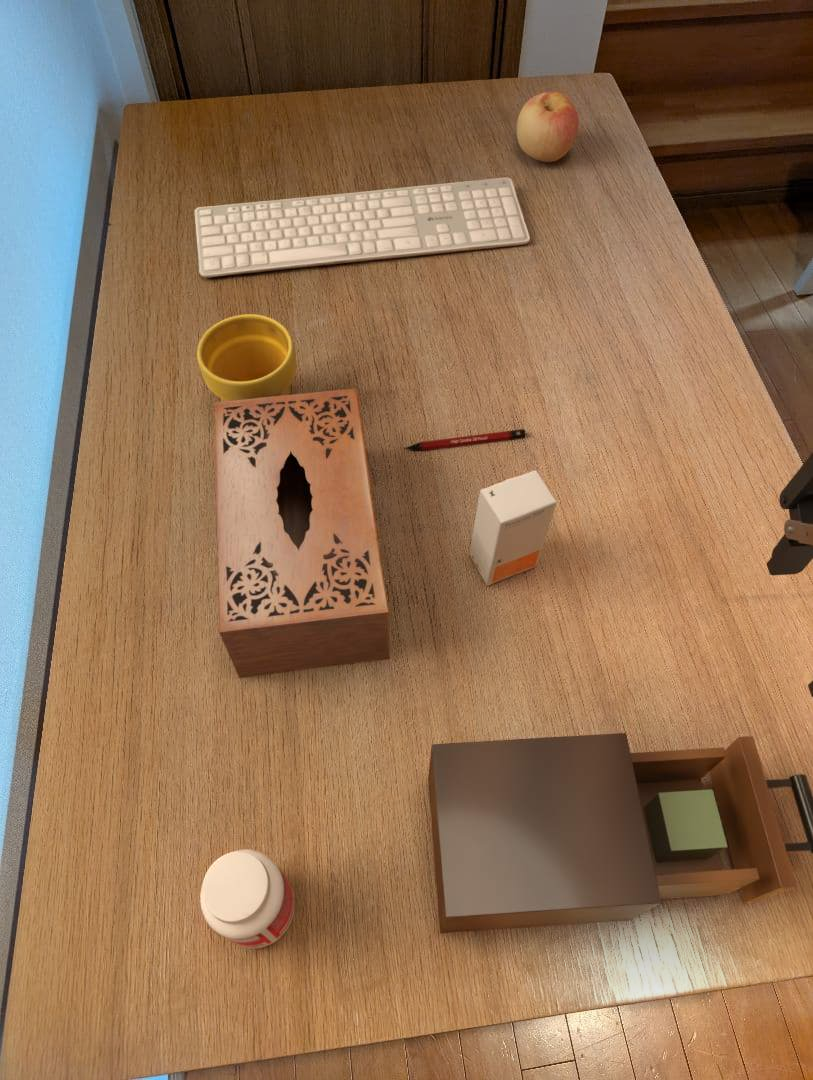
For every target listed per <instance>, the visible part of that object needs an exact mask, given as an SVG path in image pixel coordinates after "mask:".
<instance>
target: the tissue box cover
mask: <svg viewBox="0 0 813 1080" xmlns="http://www.w3.org/2000/svg"><path fill="white" fill-rule="evenodd" d="M362 422H363V421H362V415H361V407H360V399H359V393H358V388H357V387H354V388H346V389H345V388H343V389H334V390H326V391H325V390H324V391H315V392H305V393H295V394H289V395H283V396H273V397H263V398H253V399H243V400H233V401H215V402H214V431H215V432H214V438H215V439H214V440H215V442H214V443H215V446H214V447H215V481H216V482H215V487H216V489H215V490H216V492H215V493H216V495H215V496H216V530H217V531H216V533H217V535H216V537H217V538H216V539H217V540H216V542H217V582H218V584H217V586H218V587H217V588H218V593H217V594H218V626H219V627H218V633H219V635H220V637H221V640H222V642H223V644H224V646H225V649H226V651H227V654H228V655H229V658H230V660H231V663H232V665H233V667H234V669H235V671H236V674H237V676H238V678H246V677H254V676H262V675H263V676H264V675H272V674H279V673H286V672H293V671H302V670H309V669H311V670H312V669H319V668H326V667H335V666H341V665H350V664H358V663H367V662H374V661H383V660H390V659H391V658H390V621H389V620H390V619H389V617H390V616H389V606H388V599H387V593H386V585H385V578H384V571H383V563H382V557H381V550H380V544H379V543H380V541H379V536H378V535H379V534H378V529H377V528H378V527H377V521H376V515H375V508H374V500H373V494H372V486H371V479H370V473H369V472H370V471H369V464H368V458H367V450H366V445H365V444H366V443H365V438H364V430H363V423H362Z"/></svg>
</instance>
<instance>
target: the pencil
mask: <svg viewBox="0 0 813 1080" xmlns="http://www.w3.org/2000/svg"><path fill="white" fill-rule="evenodd" d="M525 438H526V430H525V429H523V428H521V429H513V430H504V431H498V432H497V431H496V432H489V433H482V434H474V435H473V434H472V435H466V436H457V437H450V438H449V437H448V438H441V439H433V440H425V441H419V442H417V443H414V444H412V445H409V446H407V447H405V448H404V449H405V450H413V451H420V452H421V451H432V450H438V449H439V450H440V449H446V448H454V447H455V448H456V447H462V446H469V445H471V446H472V445H478V444H479V445H480V444H485V443H493V442H494V443H495V442H503V441H510V440H511V441H512V440H517V439H519V440H520V439H525Z"/></svg>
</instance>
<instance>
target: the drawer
mask: <svg viewBox="0 0 813 1080" xmlns="http://www.w3.org/2000/svg"><path fill="white" fill-rule="evenodd" d="M630 754H631V759H632V764H633V768H634V773H635V778H636V783H637V787H638V792H639V797H640V802H641V807H642V811H643V816H644V821H645V826H646V831H647V835H648V840H649V845H650V850H651V855H652V859H653V864H654V869H655V874H656V879H657V883H658V888H659V893H660V898H661V900H665V899H682V898H694V897H695V898H698V897H710V896H726V895H728V894H731V893H732V892H736V891H737V890H739V891H740V895H741V899H742V903H743V904H754V903H760V902H762V901H764V900H767V899H770V898H772V897H774V896H777V895H779V894H782V893H784V892H787V891H789V890H792V889H794V888H797V882H796V877H795V875H794V871H793V868H792V865H791V862H790V858H789V855H788V854H790V853H803V852H806V853H807V852H810V853H811V855H813V792H812V789H811V786H810V782H809V780H808V776H807V774H804V773H799V774H794V775H791V776H789V777H788V778H780V779H779V778H777V779H767V778H766V775H765V772H764V769H763V766H762V762H761V758H760V755H759V753H758V748H757V744H756V741H755V737H754V735H749V736H738V737H737V738H736V739H735V740H734V741H733V742H731V743H730V744H729V745H728V746H727V747H726V748H725V747H723V746H722V747H707V748H689V749H674V750H672V749H671V750H657V751H655V750H654V751H639V752H630ZM708 774H710V778H711V782H712V786H713V791H714V795H715V799H716V803H717V807H718V810H719V814H720V818H721V822H722V826H723V830H724V834H725V838H726V842H727V845H728V849H729V851H730V855H731V860H732V865H733V866H734V869H725V868H724V865H723V861H722V857H721V851H720V852H719V853H717V854H715V855H714V856H712V857H710V858H707V859H693V860H678V861H664V862H656V859H655V855H654V850H653V845H652V841H651V836H650V831H649V827H648V822H647V817H646V812H645V808H644V807H645V806H646V805H647V804H648V803H649V802H650V801H651V800H652V799H653V798H654V797H655V796H656V795H657V794H658V793H664V792H679V791H694V790H705V789H704V785H703V781H702V779H703V778H704V777H705V776H706V775H708ZM786 788H787V789H789V788H790V789H791V792H792V795H793V799H794V802H795V805H796V808H797V812H798V815H799V819H800V822H801V824H802V828H803V831H804V834H805V838H806V841H805V842H791V843H790V842H789V843H785V840H784V838H783V833H782V830H781V827H780V824H779V821H778V816H777V814H776V810H775V806H774V803H773V800H772V795H771V793H770V790H771V789H786Z"/></svg>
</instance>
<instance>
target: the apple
mask: <svg viewBox="0 0 813 1080" xmlns="http://www.w3.org/2000/svg"><path fill="white" fill-rule="evenodd" d="M579 120H580V118H579V114H578V112H577V110H576V108H575V105H574V104H573V103H572V101H571V99H570V98H569V97H568V96H567V95H565V94H564V93H562V92H559V91H548V92H542V93H538V94H536V95H534V96H532V97H531V98H530V99H528V100H527V101H526V102H525V103H524V105H523V107H522V108H521V109H520V112H519V115H518V117H517V123H516V139H517V142H518V145H519V147H520V149H521V150H522V151H523V152H524V153H525V154H526V155H527V156H529V157H530V158H532V159H534V160H536V161H539V162H542V163H553V162H556V161H558V160H560V159H562V158H563V157H564V156H565V155H567V153H568V152H569V151H570V150H571V148H572V147H573V145H574V144H575V141H576V138H577V136H578V133H579V132H578V131H579V127H580V121H579Z"/></svg>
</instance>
